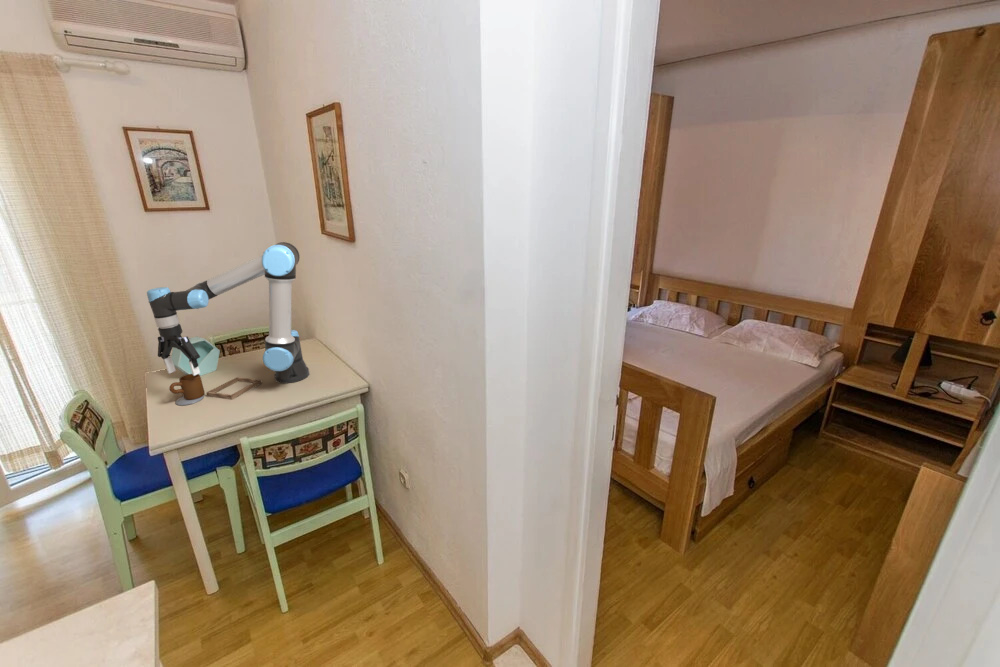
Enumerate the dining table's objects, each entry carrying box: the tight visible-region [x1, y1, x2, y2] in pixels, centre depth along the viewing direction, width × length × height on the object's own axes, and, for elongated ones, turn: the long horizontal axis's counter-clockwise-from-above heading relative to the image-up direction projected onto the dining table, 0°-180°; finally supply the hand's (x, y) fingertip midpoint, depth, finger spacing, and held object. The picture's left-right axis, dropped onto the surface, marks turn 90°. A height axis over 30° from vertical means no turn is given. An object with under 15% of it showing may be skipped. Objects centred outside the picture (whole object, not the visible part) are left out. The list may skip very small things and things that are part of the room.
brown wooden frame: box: [205, 376, 262, 400], centre depth 197 cm, size 14×17×2 cm
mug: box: [168, 374, 206, 400], centre depth 186 cm, size 12×8×9 cm, turn 151°
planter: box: [170, 335, 221, 377], centre depth 213 cm, size 17×8×21 cm
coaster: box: [175, 395, 205, 407], centre depth 188 cm, size 10×10×1 cm
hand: (184, 373), depth 184 cm, fingers open, 13 cm apart
